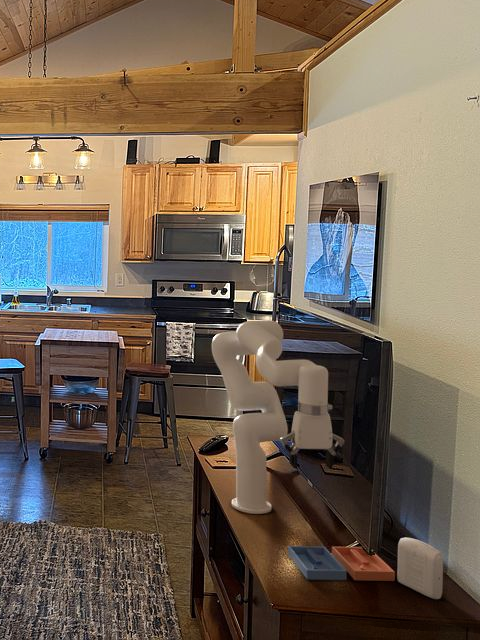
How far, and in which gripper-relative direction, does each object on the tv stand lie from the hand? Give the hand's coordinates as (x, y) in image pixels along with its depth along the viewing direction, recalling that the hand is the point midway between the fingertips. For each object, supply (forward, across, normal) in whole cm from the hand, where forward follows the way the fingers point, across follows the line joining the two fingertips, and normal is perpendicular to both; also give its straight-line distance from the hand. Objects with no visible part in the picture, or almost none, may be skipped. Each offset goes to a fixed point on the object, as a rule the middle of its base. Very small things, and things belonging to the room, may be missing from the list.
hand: (311, 467), depth 186 cm
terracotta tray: (+24, -10, +11) cm, 28 cm away
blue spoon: (+23, +2, +12) cm, 26 cm away
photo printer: (+23, -19, +22) cm, 37 cm away
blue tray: (+24, +2, +12) cm, 26 cm away
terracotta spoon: (+23, -10, +11) cm, 27 cm away
